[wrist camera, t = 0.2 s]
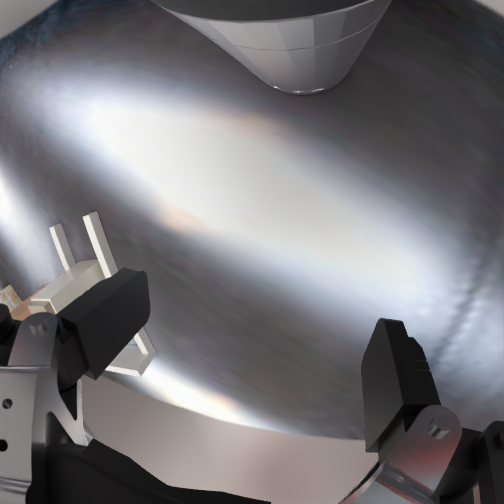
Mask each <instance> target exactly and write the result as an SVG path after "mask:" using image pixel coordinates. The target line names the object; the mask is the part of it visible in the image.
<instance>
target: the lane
mask: <svg viewBox="0 0 504 504" xmlns="http://www.w3.org/2000/svg"><path fill="white" fill-rule="evenodd" d="M83 219H84V222H85V225H86V228H87V231H88V234H89V237H90V239H91V242H92V245H93V248H94V250H95V253H96V255H97V258H98V261H99V263H100V266H101V268H102V270H103V273H104V275H105V278H109V277H111V276H113V275H114V274H115V273H117V272H118V269H117V266H116V263H115V261H114V258H113V256H112V253H111V250H110V248H109V245H108V242H107V239H106V237H105V234H104V231H103V228H102V225H101V222H100V219H99V216H98V213H97V211H96V212H92V213H90V214H88V215H86V216H84V217H83ZM49 229H50V232H51V235H52V237H53V240H54V243H55V245H56V248H57V251H58V253H59V256H60V258H61V261H62V263H63V266H64V268H65V270H66V271H67V270H69V269H70V268H71V267H73V266H74V265H75V264H76V262H75V260H74V257H73V254H72V252H71V249H70V247H69V244H68V241H67V239H66V236H65V233H64V230H63V227H62V224H61V223H59V224H56V225H54V226H52V227H50V228H49ZM134 339H135V341H136V343H137V345H138V346H136V345H126V346H125V347H124V349H123V350H122V351H121V352H120V353H119V354H118V355H117V357H116V358H115V359H114V360H113V361H112V362H111V363H110V365H109V366H108V367H107V368H106V369H105V370H108V371H113V372H118V373H123V374H128V375H134V376H140V377H141V376H142V374H143V373H144V371H145V370H146V368H147V367H148V365H149V364H150V362H151V361H152V359H153V358H154V356H155V355H156V351H155V349H154V347H153V345H152V343H151V342H150V340H149V338H148V336H147V334H146V332H145V329H144V327H142V328H141V330H140V331H139V332H138V333H137V334H136V335H135V336H134Z"/></svg>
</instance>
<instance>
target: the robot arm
mask: <svg viewBox="0 0 504 504" xmlns="http://www.w3.org/2000/svg"><path fill="white" fill-rule="evenodd" d="M150 1H152V2H154V3H156V4H157V5H159V6H160V7H162V8H164V9H165V10H167V11H168V12H170V13H172V14H173V15H175V16H176V17H178V18H180V19H181V20H183V21H184V22H186V23H187V24H189V25H190V26H192V27H193V28H195V29H196V30H198V31H199V32H201V33H202V34H204V35H205V36H206V37H208V38H209V39H211V40H212V41H213V42H215V43H216V44H217V45H219V46H220V47H221V48H223V49H224V50H225V51H227V52H228V53H229V54H230V55H232V56H233V57H234V58H235V59H237V60H238V61H239V62H240V63H242V64H243V65H244V66H245V67H247V68H248V69H249V70H250V71H251V72H252V73H254V74H255V75H256V76H257V77H259V78H260V79H261V80H262V81H263V82H264V83H266V84H267V85H269V86H271V87H272V88H274V89H276V90H279V91H282V92H285V93H289V94H295V95H311V94H316V93H321V92H323V91H326V90H328V89H331V88H332V87H334V86H335V85H337V84H338V83H340V82H341V81H342V80H343V78H344V77H345V76H346V75H347V74H348V72H349V70H350V69H351V67H352V66H353V64H354V63H355V61H356V59H357V58H358V56H359V54H360V53H361V51H362V49H363V48H364V46H365V44H366V43H367V41H368V39H369V38H370V36H371V35H372V33H373V31H374V30H375V28H376V26H377V25H378V23H379V21H380V20H381V18H382V16H383V15H384V13H385V11H386V10H387V8H388V6H389V4H390V2H391V1H392V0H150ZM149 315H150V300H149V290H148V279H147V274H146V272H145V271H142V270H138V269H134V268H130V267H124V268H122V269H121V270H120V271H118V272H117V273H115V274H114V275H113V276H111V277H109V278H106V279H104V280H101V281H99V282H98V283H96V284H95V285H94V286H92V287H91V288H90V290H87V291H86V292H84V293H83V294H82V296H81V295H80V296H79V297H78V298H76V299H75V300H74V301H72V302H71V303H70V304H68V305H67V306H66V307H64V308H63V309H62V310H61V311H59V312H58V313H57V314H55V315H54V314H52V313H49V312H38V313H34V314H32V315H30V316H28V317H27V318H25V319H24V320H23V321H21V320H16V319H12V316H11V313H10V310H9V308H8V306H7V305H5V304H2V303H0V504H271V502H268V501H262V500H257V499H251V498H247V497H242V496H238V495H233V494H229V493H225V492H219V491H206V490H195V489H187V488H179V487H172V486H169V485H167V484H165V483H163V482H162V481H160V480H159V479H157V478H156V477H155V476H153V475H152V474H150V473H149V472H147V471H146V470H145V469H144V468H142V467H141V466H140V465H138V464H137V463H136V462H134V461H133V460H132V459H131V458H129V457H128V456H125V455H123V454H121V453H119V452H117V451H116V450H114V449H112V448H110V447H108V446H106V445H104V444H102V443H101V442H99V441H97V440H95V439H94V438H93V439H92V440H91V442H90V443H89V444H88V442H87V439H86V436H85V434H84V430H83V420H82V384H81V381H80V378H81V376H82V375H83V374H84V375H86V376H88V377H90V378H92V379H94V380H97V378H98V377H99V376H100V375H101V374H102V373H103V371H104V370H105V369H106V368H107V367H108V366H109V365H110V363H111V362H112V361H113V360H114V359H115V358H116V357H117V355H118V354H119V353H120V352H121V351H122V350H123V349H124V347H125V346H126V345H127V344H128V343H129V342H130V341H131V340H132V338H133V337H134V336H135V335H136V334H137V333H138V332H139V331H140V330H141V328H142V327H143V326H144V325H145V324H146V322H147V321H148V318H149ZM429 370H430V368H429V365H428V362H426V357H425V354H424V351H423V349H422V347H421V346H420V345H419V344H418V342H417V341H416V340H415V339H414V338H413V337H408V335H407V332H406V329H405V326H404V324H403V322H402V321H400V320H392V319H385V318H380V319H379V320H378V322H377V324H376V327H375V329H374V332H373V334H372V337H371V339H370V342H369V344H368V346H367V349H366V351H365V353H364V356H363V360H362V366H361V375H362V386H363V399H364V415H365V440H366V452H375V453H376V452H377V453H378V456H379V460H378V461H377V462H376V463H375V464H374V466H373V467H372V468H371V469H370V471H368V473H367V474H366V475H365V476H364V477H363V478H362V479H361V480H360V482H359V483H358V484H357V485H356V486H355V487H354V488H353V489H352V490H351V491H350V492H349V493H348V494H347V495H346V496H345V497H344V498H343V499H342V500H341V501H340V502H339V503H338V504H474V497H473V489H474V488H475V487H477V486H478V485H479V491H480V501H481V504H504V422H503V421H494V422H492V423H491V424H490V425H489V426H488V427H487V428H486V429H485V430H484V431H483V432H479V431H475V430H471V429H466V428H463V427H462V425H461V422H460V419H459V418H458V416H457V415H456V414H455V413H454V412H453V411H452V410H450V409H449V408H447V407H444V406H441V403H440V400H439V396H438V393H437V390H436V386H435V383H434V380H433V377H432V374H431V372H429Z"/></svg>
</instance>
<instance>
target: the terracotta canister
mask: <svg viewBox="0 0 504 504" xmlns="http://www.w3.org/2000/svg"><path fill="white" fill-rule="evenodd" d="M45 287H46V286H43V287H42V288H40V289H39V290H38V291H36V292H35V293H34V294H33V295H31V296H30V297H29V298H28V299H26V300H25V301H24V302H23V303H21V304H20V305H19V306H18V307H16V308H15V309H14V310H13V311H12V312H10V313H11V316H12V319H16V320H21V321H23V320H24V319H25V318H27V317H28V316H30V315H32V314H31V312H30V310H29V308H28V306H27V305H28V304H29V303H30V302H32V301H31V298H32V297H33V296H34V295H36V294H37V293H38V292H39V291H41V290H42V289H43V288H45Z"/></svg>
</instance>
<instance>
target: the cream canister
mask: <svg viewBox="0 0 504 504" xmlns="http://www.w3.org/2000/svg"><path fill="white" fill-rule="evenodd" d="M104 279H106V278H105V275H104V273H103V270H102V268H101V266H100V263H99V261H98V259H94V260H87V261H81V262H78V263H77V264H75V265H74V266H73V267H71V268H70V269H69V270H67V271H66V272H64V273H63V274H62V275H60V276H59V277H58V278H56V279H55V280H54V281H52V282H51V283H50V284H48V285H47V286H46V287H45V288H43V289H42V290H41V291H39V292H38V293H37V294H36V295H34V296H33V297H32V298H31V301H32V302H30V303H29V304H28V305H27V306H28V308H29V310H30V312H31V314H34V313H38V312H49V313H52V314H54V315H55V314H57V313H58V312H59V311H61V310H62V309H63V308H64V307H66V306H67V305H68V304H70V303H71V302H72V301H74V300H75V299H76V298H78V297H79V296H80V295H81V296H82V294H83V293H84V292H86V291H87V290H90V288H91V287H92V286H94V285H95V284H96V283H98V282H99V281H101V280H104Z"/></svg>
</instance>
